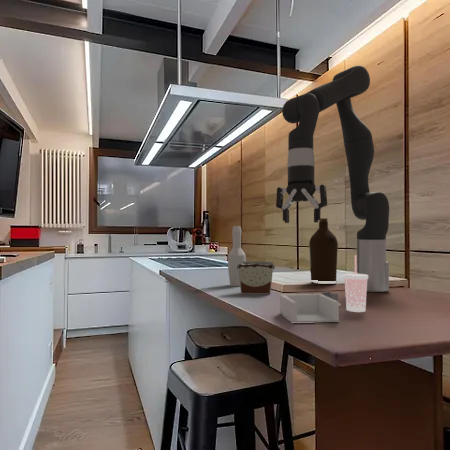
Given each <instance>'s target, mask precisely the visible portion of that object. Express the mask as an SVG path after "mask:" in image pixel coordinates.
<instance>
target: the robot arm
mask: <svg viewBox="0 0 450 450" xmlns="http://www.w3.org/2000/svg"><path fill="white" fill-rule="evenodd" d="M369 73H370V72H369V71H368V70H367V68H366V67H365V66H362V65H354V66H351V67H349V68H347V69H344V70H342V71H340V72H338V73H337V74H335V75H334V76H333V77H332V81H329V82H327V83H324V84H322V85H320V86H317V87H315V88H313V89H311V90H309V91H307V92H306V93H303V94H300V95H298V96H295V97H292V98H289V99H288V100H287V101H285V103H284V104H283V107H282V110H281V113H282V118H283V119H284V120H285V121H286V122H287V123H290V124H298V125H297V126H296V127H295V128H293V129H292V130H291V131H290V132H289V133H288V140H287V143H288V147H287V148H288V152H287V153H288V154H287V163H286V166H287V187H277V188H276V200H275V208H277V209H281V210H282V221H283V222H284V224H290V208H291V206H292V205H293V204H294V203H295V202H298V203H300V202H309V203H310V204H311V205H312V207H314V209H313V223H316V224H317V223H318V224H319V220H320V219H321V209H322V208H324V207H325V208H326V207H327V206H328V197H327V186H326V185H325V184H320V185H316V184H315V153H314V136H315V135H314V134H315V130H316V127H317V122H318V118H319V115H320V113H321V112H323V111H325V110H327V109H328V108H330V107H332V106H333V105H335V104H336V108H337V113H338V116H339V121H340V126H341V127H340V128H341V131H342V137H343V146H344V152H345V157H346V158H345V159H346V161H347V170H348V176H349V184H350V186H349V187H350V202H351V209H352V212H353V215H354V216H355V218H357V219H358V220H361V221H365V224H364V226H363V227H362V228H361V229H359V230H358V231H357V233H356V255H357V274H366V275H368V279H367V292H369V293H370V292H372V293H377V292H378V293H379V292H382V293H384V292H388V291H390V275H389V274H390V268H389V267H390V264H389V262H388V261H387V234H388V232H389V225H390V224H389V222H390V221H389V220H390V202H389V199H388V197H387V195H385V193H383V192H382V191H372V192H371V191H370V187H369V175H370V172H371V171H370V170H371V167H372V163H373V160H374V157H375V146H374V139H373V134H372V132H371V130H370V128H369V127H368V126H367V125H366V123H364V122H363V121H362V119H360V118H359V117H358V116H357V114H356V112H355V111H354V108H353V105H352V98H354V97H357V96H359V95H361V94H363V93H365V92H367V90H369V87H370V85H371V77H370V74H369ZM316 191H317V193H319V194H320V195H319V197H320V203H319V202H318V200H317V199H316V198H315V197H314V194H315V193H316ZM286 193H287V194H288V196H287V199H286V200H285V202H284V196H285V195H286Z"/></svg>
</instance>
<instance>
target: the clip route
mask: <svg viewBox="0 0 450 450" xmlns="http://www.w3.org/2000/svg"><path fill="white" fill-rule="evenodd" d="M308 294H315V293H314V292H310V293H308ZM321 294H323V295H325V296H327V297H329V298H331V299H334V300H336V301H338V302H339V293H338V292H337V293H336V292H335V293H334V292H333V293H332V292H331V291H322V292H321ZM341 306H342V303H340V302H339V307H341Z"/></svg>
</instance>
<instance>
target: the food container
mask: <svg viewBox="0 0 450 450" xmlns="http://www.w3.org/2000/svg"><path fill="white" fill-rule="evenodd" d="M237 269H239V279H240V286H239V287H240V294H243V295H244V294H245V295H246V294H247V295H271V290H272V280H273V271H274V270H276V266H275V264H274V262H272V261H263V260H261V261H260V260H258V261H257V260H251V261H250V260H249V261H248V260H246V261H244V262H238V264H237Z"/></svg>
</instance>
